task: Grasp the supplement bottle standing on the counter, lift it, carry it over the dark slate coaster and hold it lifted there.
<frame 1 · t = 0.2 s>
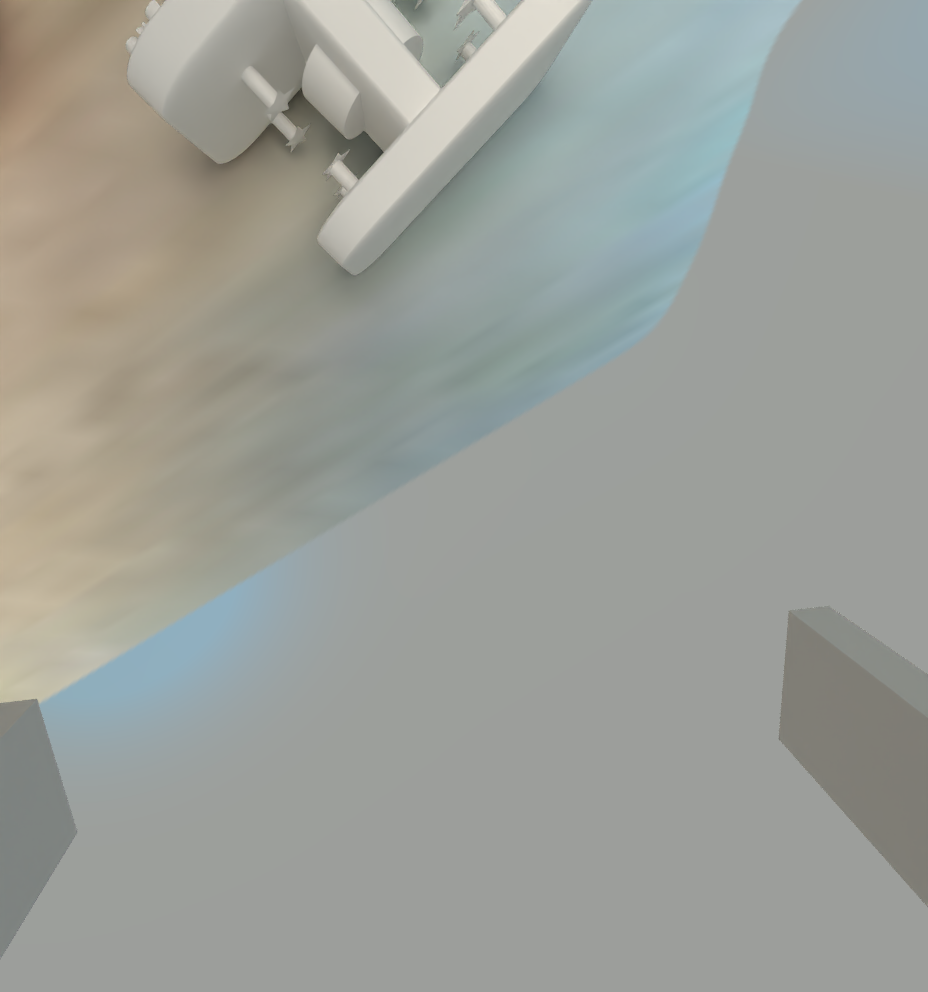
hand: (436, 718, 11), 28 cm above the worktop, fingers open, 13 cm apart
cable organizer: (372, 111, 34), on the worktop
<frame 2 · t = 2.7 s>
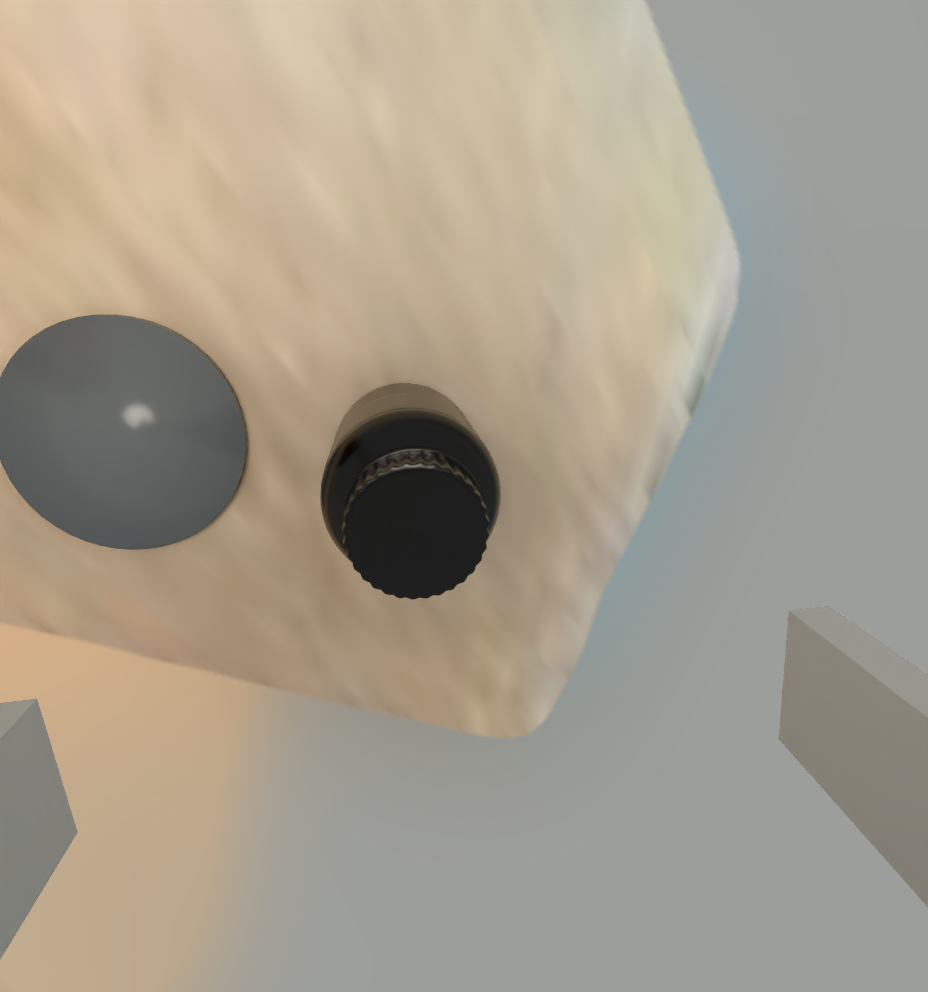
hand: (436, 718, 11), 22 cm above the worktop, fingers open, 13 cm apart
coaster: (126, 435, 30), on the worktop
supplement bottle: (406, 450, 32), on the worktop
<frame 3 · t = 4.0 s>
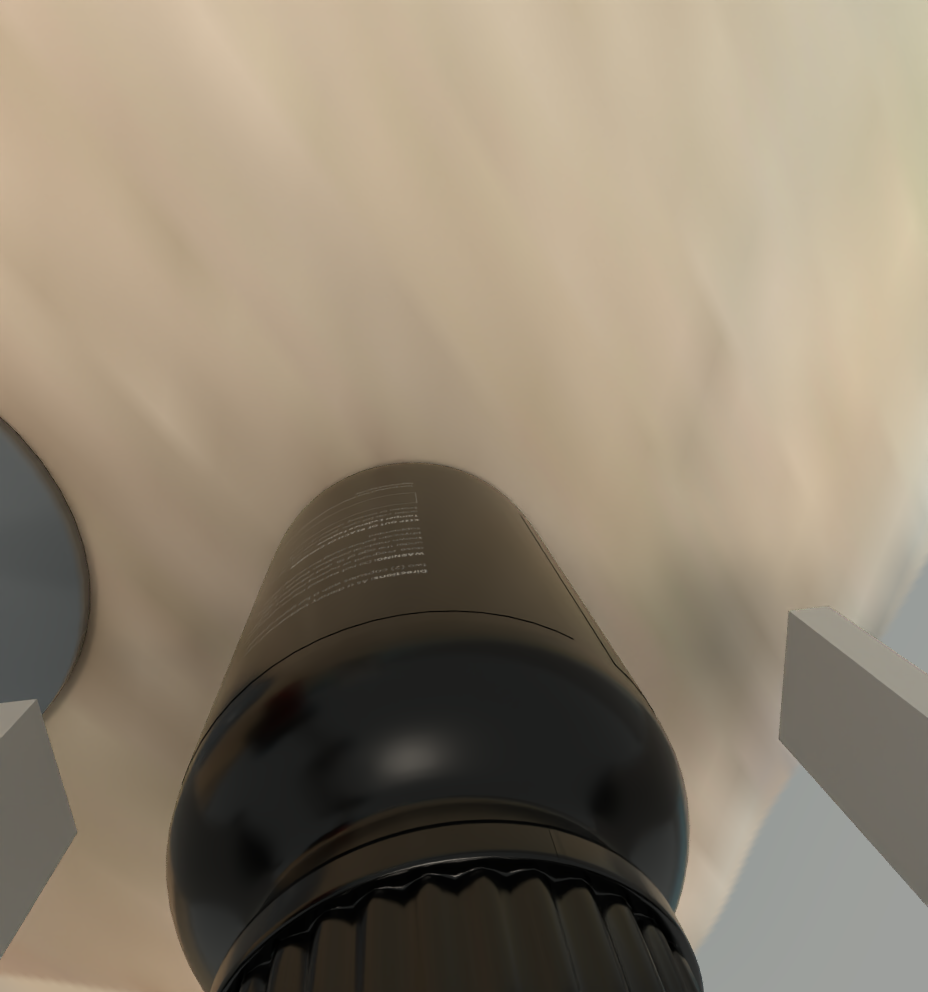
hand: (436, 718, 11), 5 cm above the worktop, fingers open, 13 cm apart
supplement bottle: (413, 585, 16), on the worktop
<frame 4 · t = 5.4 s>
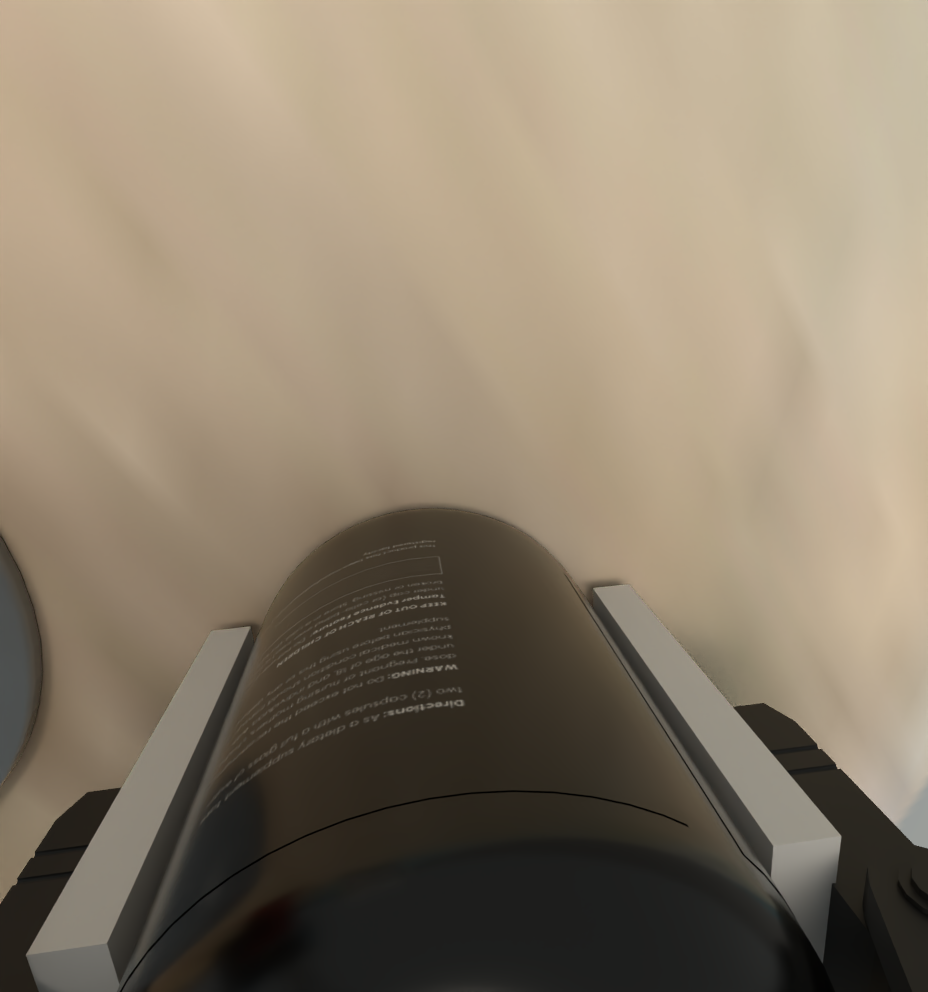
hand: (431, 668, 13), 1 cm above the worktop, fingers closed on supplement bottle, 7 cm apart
supplement bottle: (430, 649, 14), on the worktop, touching gripper
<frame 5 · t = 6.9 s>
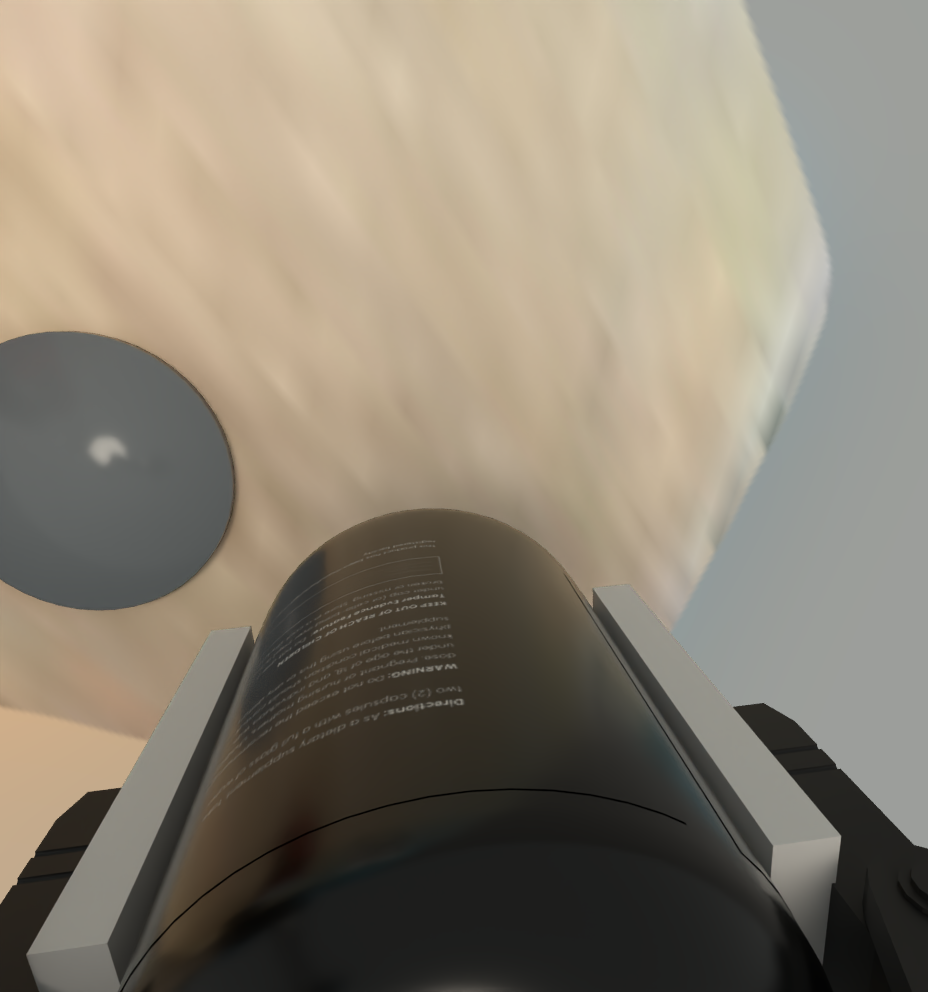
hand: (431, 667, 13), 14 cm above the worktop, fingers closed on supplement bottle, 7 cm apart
coaster: (90, 475, 25), on the worktop
supplement bottle: (430, 649, 14), point 13 cm above the worktop, touching gripper
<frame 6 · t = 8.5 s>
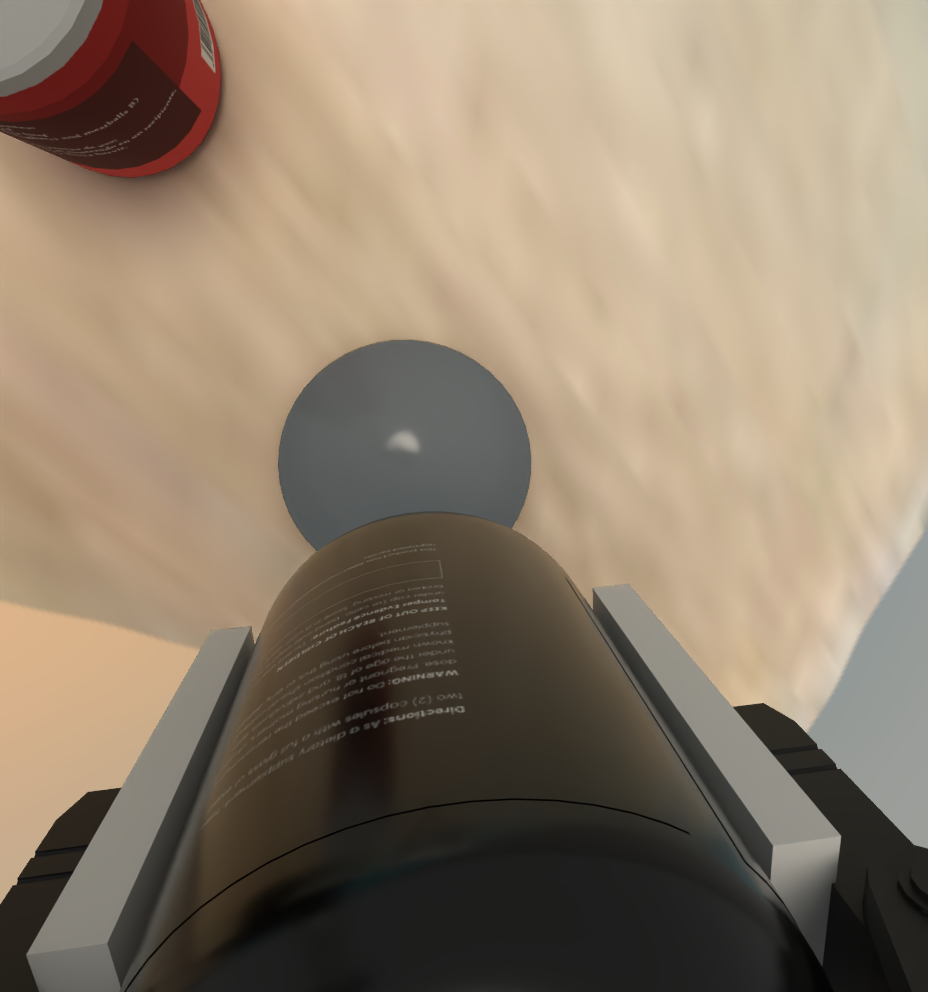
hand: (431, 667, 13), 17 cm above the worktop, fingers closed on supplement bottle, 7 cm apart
canned food: (118, 65, 24), on the worktop
coaster: (407, 466, 29), on the worktop
supplement bottle: (431, 652, 14), point 16 cm above the worktop, touching gripper
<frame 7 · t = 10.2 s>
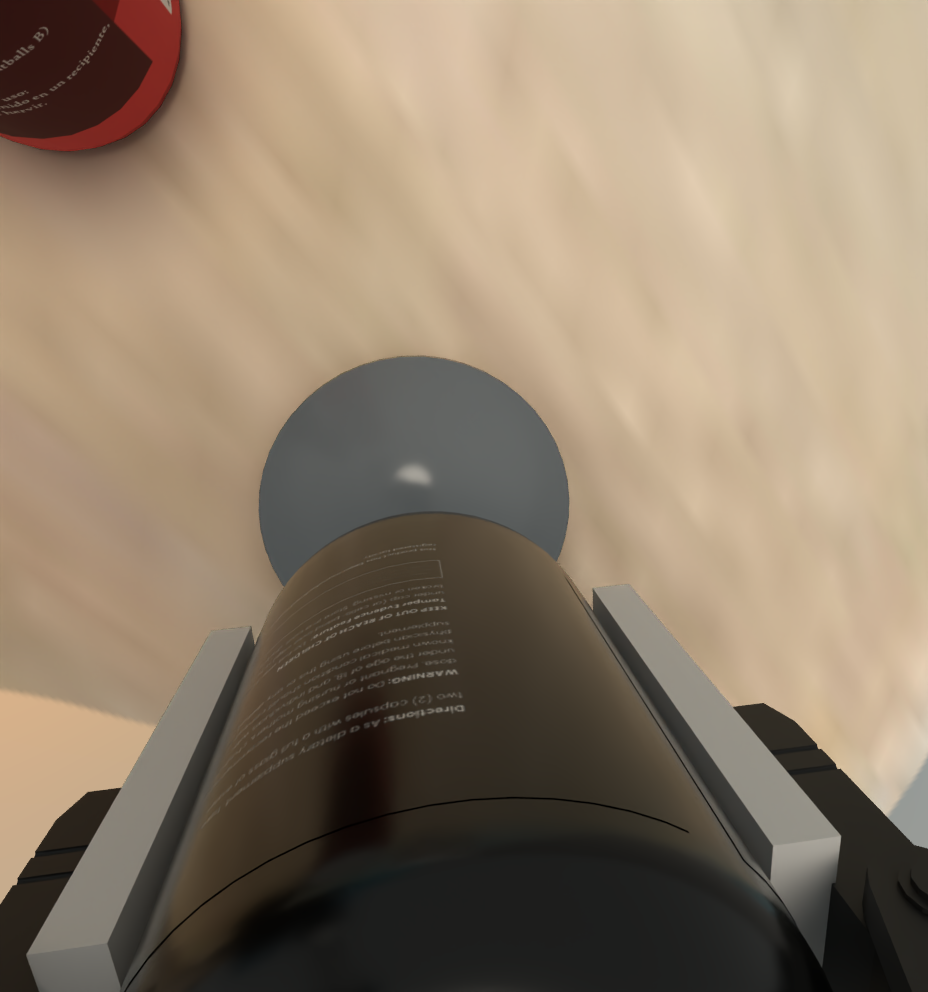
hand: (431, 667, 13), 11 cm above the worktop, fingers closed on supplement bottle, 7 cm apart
canned food: (52, 9, 19), on the worktop
coaster: (417, 509, 24), on the worktop
supplement bottle: (431, 652, 14), point 10 cm above the worktop, touching gripper
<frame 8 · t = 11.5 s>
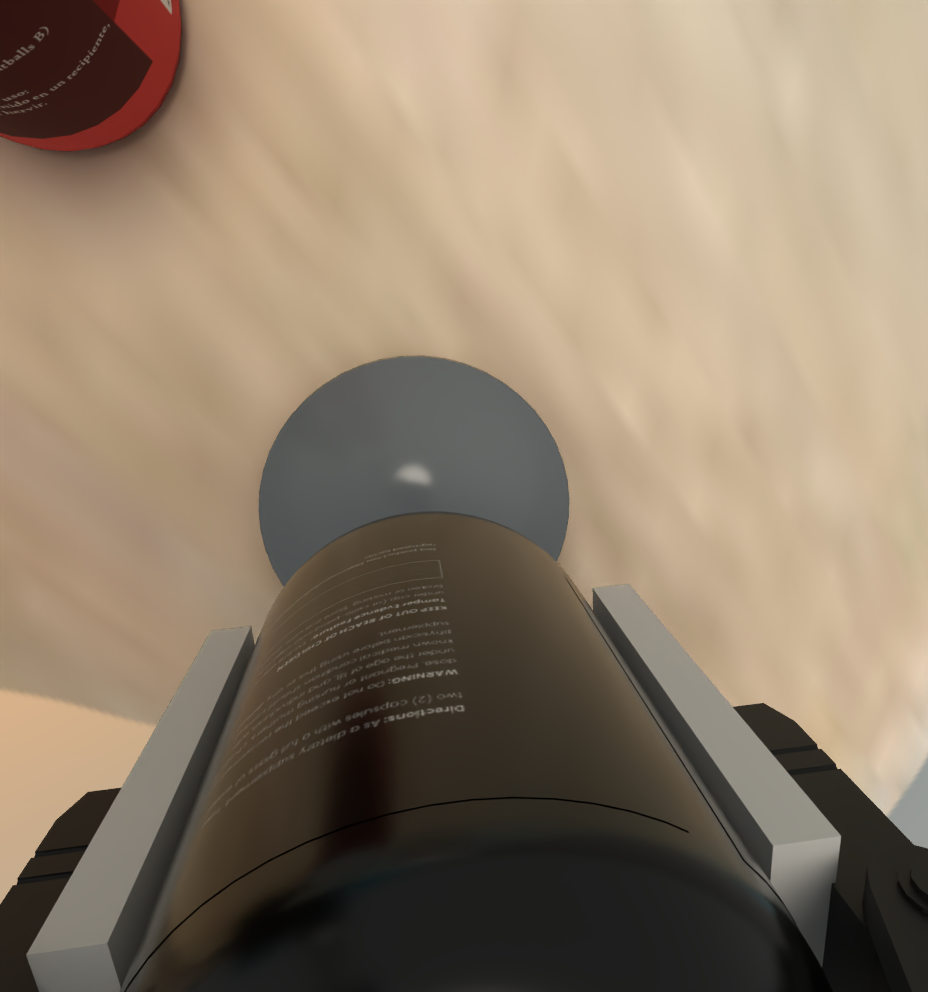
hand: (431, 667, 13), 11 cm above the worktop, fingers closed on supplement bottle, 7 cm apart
canned food: (52, 9, 19), on the worktop
coaster: (417, 509, 24), on the worktop
supplement bottle: (431, 652, 14), point 10 cm above the worktop, touching gripper
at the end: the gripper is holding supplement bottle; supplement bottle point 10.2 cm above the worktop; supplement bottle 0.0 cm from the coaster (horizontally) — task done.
